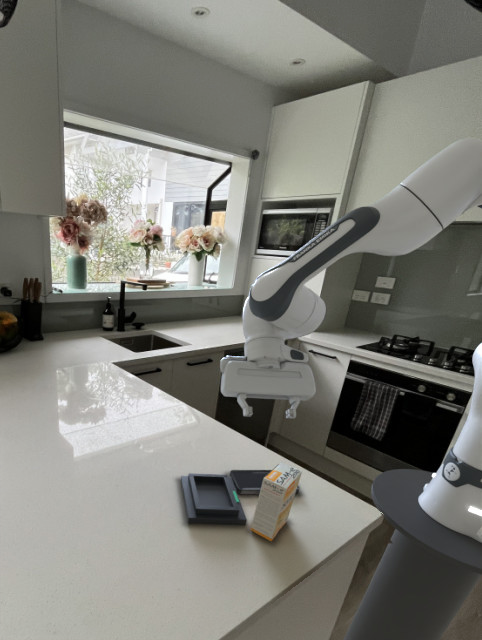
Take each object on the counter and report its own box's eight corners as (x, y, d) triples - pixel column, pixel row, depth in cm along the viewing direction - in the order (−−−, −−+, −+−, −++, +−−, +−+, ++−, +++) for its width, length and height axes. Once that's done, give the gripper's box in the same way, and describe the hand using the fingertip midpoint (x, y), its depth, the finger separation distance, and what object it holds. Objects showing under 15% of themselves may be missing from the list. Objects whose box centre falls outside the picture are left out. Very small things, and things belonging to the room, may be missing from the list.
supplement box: (272, 543, 73) (287, 489, 68) (249, 530, 76) (262, 478, 71) (288, 521, 79) (303, 470, 74) (266, 510, 82) (280, 460, 76)
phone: (301, 490, 87) (238, 490, 86) (300, 493, 88) (237, 494, 86) (286, 469, 94) (228, 469, 93) (285, 473, 95) (228, 473, 93)
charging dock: (230, 482, 90) (232, 472, 89) (245, 525, 78) (248, 514, 76) (180, 480, 89) (181, 470, 88) (187, 523, 77) (189, 512, 76)
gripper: (223, 349, 81) (225, 409, 77) (315, 354, 82) (323, 414, 78) (216, 361, 87) (218, 418, 83) (302, 366, 88) (308, 423, 84)
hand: (269, 416), depth 80 cm, fingers open, 8 cm apart
